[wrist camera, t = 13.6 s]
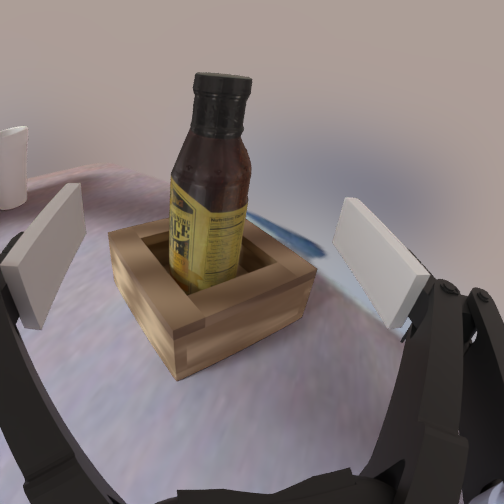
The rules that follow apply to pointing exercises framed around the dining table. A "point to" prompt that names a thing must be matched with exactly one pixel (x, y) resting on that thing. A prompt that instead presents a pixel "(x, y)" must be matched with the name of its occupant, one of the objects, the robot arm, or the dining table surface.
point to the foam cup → (13, 167)
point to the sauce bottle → (210, 186)
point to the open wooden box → (208, 296)
